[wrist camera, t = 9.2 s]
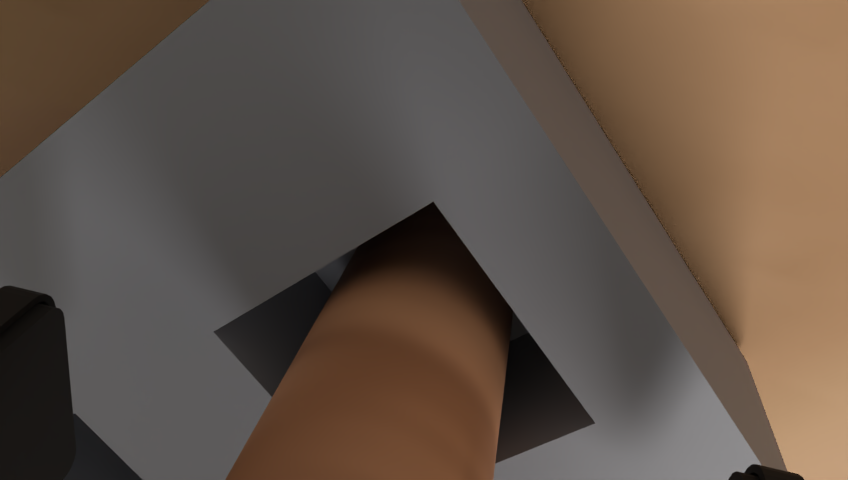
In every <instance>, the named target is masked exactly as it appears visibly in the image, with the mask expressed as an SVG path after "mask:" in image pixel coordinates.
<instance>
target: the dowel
mask: <svg viewBox="0 0 848 480" xmlns="http://www.w3.org/2000/svg"><path fill="white" fill-rule="evenodd" d="M512 317H513V310H512V308H511V307H510V306H509V304H508V303H507V302H506V300H505V299H504V298H503V296H502V295H501V293H500V292H499V291H498V289H497V288H496V287H495V285H494V284H493V282H492V281H491V280H490V278H489V277H488V276H487V274H486V273H485V272H484V270H483V269H482V267H481V266H480V265H479V263H478V262H477V261H476V259H475V258H474V256H473V255H472V254H471V252H470V251H469V250H468V248H467V247H466V246H465V244H464V243H463V241H462V240H461V239H460V237H459V236H458V235H457V233H456V232H455V230H454V229H453V228H452V226H451V225H450V224H449V222H448V221H447V220H446V218H445V217H444V215H443V214H442V213H441V211H440V210H439V209H438V207H437V206H436V204H435V203H434V202H432V203H430V204H429V205H427V206H425V207H424V208H422V209H420V210H418V211H417V212H415V213H413V214H412V215H410V216H408V217H407V218H405V219H403V220H402V221H400V222H398V223H396V224H395V225H393V226H391V227H390V228H388V229H386V230H385V231H383V232H381V233H380V234H378V235H376V236H374V237H373V238H371V239H369V240H368V241H366V242H364V243H363V244H361V245H359V246H358V247H357V249H356V251H355V252H354V254H353V256H352V258H351V259H350V261H349V263H348V265H347V266H346V268H345V270H344V272H343V273H342V275H341V277H340V279H339V281H338V282H337V284H336V286H335V288H334V289H333V291H332V293H331V295H330V296H329V298H328V300H327V302H326V303H325V305H324V307H323V309H322V310H321V312H320V314H319V316H318V317H317V319H316V321H315V323H314V324H313V326H312V328H311V330H310V331H309V333H308V335H307V337H306V339H305V340H304V342H303V344H302V346H301V347H300V349H299V351H298V353H297V354H296V356H295V358H294V360H293V361H292V363H291V365H290V367H289V368H288V370H287V372H286V374H285V375H284V377H283V379H282V381H281V382H280V384H279V386H278V388H277V389H276V391H275V393H274V395H273V397H272V398H271V400H270V402H269V404H268V405H267V407H266V409H265V411H264V412H263V414H262V416H261V418H260V419H259V421H258V423H257V425H256V426H255V428H254V430H253V432H252V433H251V435H250V437H249V439H248V440H247V442H246V444H245V446H244V448H243V449H242V451H241V453H240V455H239V456H238V458H237V460H236V462H235V463H234V465H233V467H232V469H231V470H230V472H229V474H228V476H227V477H226V479H225V480H493V478H494V469H495V461H496V453H497V444H498V436H499V427H500V419H501V410H502V402H503V393H504V385H505V376H506V368H507V359H508V351H509V343H510V334H511V326H512Z"/></svg>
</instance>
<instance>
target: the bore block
mask: <svg viewBox="0 0 848 480" xmlns="http://www.w3.org/2000/svg"><path fill="white" fill-rule="evenodd" d="M432 202H434V203H435V204H436V206H437V207H438V209H439V210H440V211H441V213H442V214H443V215H444V217H445V218H446V220H447V221H448V222H449V224H450V225H451V226H452V228H453V229H454V230H455V232H456V233H457V235H458V236H459V237H460V239H461V240H462V241H463V243H464V244H465V246H466V247H467V248H468V250H469V251H470V252H471V254H472V255H473V256H474V258H475V259H476V261H477V262H478V263H479V265H480V266H481V267H482V269H483V270H484V272H485V273H486V274H487V276H488V277H489V278H490V280H491V281H492V282H493V284H494V285H495V287H496V288H497V289H498V291H499V292H500V293H501V295H502V296H503V298H504V299H505V300H506V302H507V303H508V304H509V306H510V307H511V308H512V310H513V317H512V326H511V334H510V343H509V351H508V359H507V368H506V376H505V385H504V393H503V402H502V410H501V419H500V427H499V436H498V444H497V453H496V461H495V469H494V478H493V480H728V479H729V478H730V476H731V474H732V473H734V472H735V471H737V472H742V473H744V472H745V471H746V469H747V468H748V467H749V466H750V465H752V464H758V465H762V466H766V467H770V468H774V469H779V470H783V471H787V469H786V466H785V464H784V461H783V458H782V456H781V453H780V450H779V447H778V445H777V442H776V439H775V437H774V434H773V431H772V429H771V426H770V423H769V420H768V418H767V415H766V412H765V410H764V407H763V404H762V402H761V399H760V396H759V393H758V391H757V388H756V385H755V383H754V380H753V377H752V375H751V372H750V369H749V366H748V364H747V361H746V360H745V358H744V356H743V355H742V353H741V352H740V350H739V348H738V347H737V345H736V344H735V342H734V340H733V339H732V337H731V336H730V334H729V332H728V331H727V329H726V328H725V326H724V324H723V323H722V321H721V320H720V318H719V316H718V315H717V313H716V311H715V310H714V308H713V307H712V305H711V303H710V302H709V300H708V299H707V297H706V295H705V294H704V292H703V291H702V289H701V287H700V286H699V284H698V283H697V281H696V279H695V278H694V276H693V275H692V273H691V271H690V270H689V268H688V267H687V265H686V263H685V262H684V260H683V259H682V257H681V255H680V254H679V252H678V251H677V249H676V247H675V246H674V244H673V243H672V241H671V239H670V238H669V236H668V235H667V233H666V231H665V230H664V228H663V227H662V225H661V223H660V222H659V220H658V218H657V217H656V215H655V214H654V212H653V210H652V209H651V207H650V206H649V204H648V202H647V201H646V199H645V198H644V196H643V194H642V193H641V191H640V190H639V188H638V186H637V185H636V183H635V182H634V180H633V178H632V177H631V175H630V174H629V172H628V170H627V169H626V167H625V166H624V164H623V162H622V161H621V159H620V158H619V156H618V154H617V153H616V151H615V150H614V148H613V146H612V145H611V143H610V142H609V140H608V138H607V137H606V135H605V133H604V132H603V130H602V129H601V127H600V125H599V124H598V122H597V121H596V119H595V117H594V116H593V114H592V113H591V111H590V109H589V108H588V106H587V105H586V103H585V101H584V100H583V98H582V97H581V95H580V93H579V92H578V90H577V89H576V87H575V85H574V84H573V82H572V81H571V79H570V77H569V76H568V74H567V73H566V71H565V69H564V68H563V66H562V65H561V63H560V61H559V60H558V58H557V57H556V55H555V53H554V52H553V50H552V49H551V47H550V45H549V44H548V42H547V40H546V39H545V37H544V36H543V34H542V32H541V31H540V29H539V28H538V26H537V24H536V23H535V21H534V20H533V18H532V16H531V15H530V13H529V12H528V10H527V8H526V7H525V5H524V4H523V2H522V0H210V1H208V2H207V3H206V4H205V5H204V6H203V7H201V8H200V9H199V10H198V11H197V12H195V13H194V14H193V15H192V16H191V17H190V18H188V19H187V20H186V21H185V22H184V23H182V24H181V25H180V26H179V27H178V28H177V29H175V30H174V31H173V32H172V33H171V34H169V35H168V36H167V37H166V38H165V39H164V40H162V41H161V42H160V43H159V44H158V45H156V46H155V47H154V48H153V49H152V50H151V51H149V52H148V53H147V54H146V55H145V56H143V57H142V58H141V59H140V60H139V61H138V62H136V63H135V64H134V65H133V66H132V67H130V68H129V69H128V70H127V71H126V72H125V73H123V74H122V75H121V76H120V77H119V78H117V79H116V80H115V81H114V82H113V83H112V84H110V85H109V86H108V87H107V88H106V89H104V90H103V91H102V92H101V93H100V94H99V95H97V96H96V97H95V98H94V99H93V100H91V101H90V102H89V103H88V104H87V105H86V106H84V107H83V108H82V109H81V110H80V111H78V112H77V113H76V114H75V115H74V116H73V117H71V118H70V119H69V120H68V121H67V122H66V123H64V124H63V125H62V126H61V127H60V128H58V129H57V130H56V131H55V132H54V133H53V134H51V135H50V136H49V137H48V138H47V139H45V140H44V141H43V142H42V143H41V144H40V145H38V146H37V147H36V148H35V149H34V150H32V151H31V152H30V153H29V154H28V155H27V156H25V157H24V158H23V159H22V160H21V161H19V162H18V163H17V164H16V165H15V166H14V167H12V168H11V169H10V170H9V171H8V172H6V173H5V174H4V175H3V176H2V177H1V178H0V288H2V287H3V286H10V285H11V286H15V287H19V288H23V289H27V290H31V291H36V292H40V293H44V294H47V295H49V296H51V297H52V298H53V300H54V302H55V306H56V307H57V308H59V309H61V310H62V311H63V314H64V318H65V329H66V340H67V352H68V363H69V374H70V385H71V396H72V407H73V418H74V430H75V441H76V455H75V459H74V462H73V465H72V467H71V469H70V471H69V472H68V474H67V475H66V477H65V478H64V479H63V480H225V479H226V477H227V476H228V474H229V472H230V470H231V469H232V467H233V465H234V463H235V462H236V460H237V458H238V456H239V455H240V453H241V451H242V449H243V448H244V446H245V444H246V442H247V440H248V439H249V437H250V435H251V433H252V432H253V430H254V428H255V426H256V425H257V423H258V421H259V419H260V418H261V416H262V414H263V412H264V411H265V409H266V407H267V405H268V404H269V402H270V400H271V398H272V397H273V395H274V393H275V391H276V389H277V388H278V386H279V384H280V382H281V381H282V379H283V377H284V375H285V374H286V372H287V370H288V368H289V367H290V365H291V363H292V361H293V360H294V358H295V356H296V354H297V353H298V351H299V349H300V347H301V346H302V344H303V342H304V340H305V339H306V337H307V335H308V333H309V331H310V330H311V328H312V326H313V324H314V323H315V321H316V319H317V317H318V316H319V314H320V312H321V310H322V309H323V307H324V305H325V303H326V302H327V300H328V298H329V296H330V295H331V293H332V291H333V289H334V288H335V286H336V284H337V282H338V281H339V279H340V277H341V275H342V273H343V272H344V270H345V268H346V266H347V265H348V263H349V261H350V259H351V258H352V256H353V254H354V252H355V251H356V249H357V247H358V246H359V245H361V244H363V243H364V242H366V241H368V240H369V239H371V238H373V237H374V236H376V235H378V234H380V233H381V232H383V231H385V230H386V229H388V228H390V227H391V226H393V225H395V224H396V223H398V222H400V221H402V220H403V219H405V218H407V217H408V216H410V215H412V214H413V213H415V212H417V211H418V210H420V209H422V208H424V207H425V206H427V205H429V204H430V203H432Z"/></svg>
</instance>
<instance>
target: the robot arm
mask: <svg viewBox="0 0 848 480" xmlns="http://www.w3.org/2000/svg"><path fill="white" fill-rule="evenodd" d="M75 455H76V441H75V430H74V418H73V407H72V396H71V385H70V374H69V363H68V352H67V340H66V329H65V318H64V314H63V311H62V310H61V309H59V308H57V307H56V306H55V302H54V300H53V298H52V297H51V296H49V295H47V294H44V293H40V292H36V291H31V290H27V289H23V288H19V287H15V286H11V285H10V286H3V287H2V288H0V480H63V479H64V478H65V477H66V475H67V474H68V472H69V471H70V469H71V467H72V465H73V462H74V459H75ZM728 480H804V479H803V477H801V476H800V475H799V474H795V473H791V472H787V471H783V470H779V469H774V468H770V467H766V466H762V465H758V464H752V465H750V466H749V467H748V468H747V469H746V471H745V472H744V473H742V472H737V471H735V472H734V473H732V474H731V476H730V478H729V479H728Z"/></svg>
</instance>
